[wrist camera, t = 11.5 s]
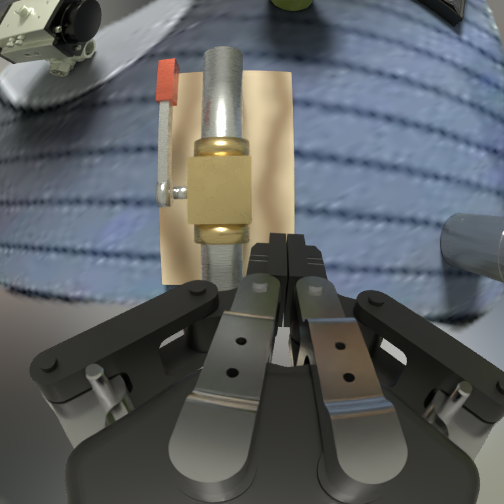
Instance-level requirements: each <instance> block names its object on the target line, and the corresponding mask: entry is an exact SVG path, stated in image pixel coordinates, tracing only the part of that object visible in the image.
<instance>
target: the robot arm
mask: <svg viewBox="0 0 504 504" xmlns="http://www.w3.org/2000/svg"><path fill="white" fill-rule="evenodd" d="M441 250H442V253H443V256H444V258H445V260H446V261H447V262H448V263H449V264H450V265H452V266H455V267H458V268H461V269H464V270H467V271H470V272H473V273H476V274H479V275H482V276H485V277H488V278H491V279H494V280H497V281H500V282H502V283H504V217H499V216H487V215H475V214H461V213H458V214H455V215H453V216H451V217H450V218H449V219H448V220H447V222H446V223H445V225H444V228H443V231H442V234H441ZM283 313H284V327H290V335H289V352H290V360H291V367H284V366H280V365H276V364H272V363H271V361H272V355H273V349H274V343H275V337H276V335H277V331H278V327H282V322H283ZM182 329H183V330H184V335H183V336H181V337H179V338H177V339H175V340H174V341H172V342H170V343H168V344H167V345H165V346H163V347H161V348H159V347H160V345H161V343H162V342H163V341H164V340H165V339H167V338H168V337H170V336H172V335H174V334H175V333H177V332H179V331H180V330H182ZM383 338H384V339H386V340H387V341H388V342H390V343H391V344H393V345H394V346H395V347H397V348H398V349H400V350H401V351H402V352H403V353H404V354H405V356H406V357H407V364H406V366H405V365H404V364H402V363H401V362H400V361H398V360H397V359H396V358H394V357H393V356H392V355H390V354H389V353H388V352H386V351H385V350H383V349H382V348H381V347H380V345H381V342H382V340H383ZM201 367H202V369H200V368H201ZM198 369H199V370H198ZM30 376H31V377H32V379H33V381H34V382H35V384H36V385H37V387H38V388H39V389H40V391H41V393H42V395H43V397H44V398H45V400H46V401H47V403H48V404H49V405H50V407H51V408H52V409H53V411H54V412H55V413H56V415H57V417H58V419H59V421H60V423H61V424H62V426H63V429H64V431H65V433H66V434H67V436H68V438H69V440H70V442H71V444H72V445H73V447H74V450H73V451H72V452H71V454H70V456H69V458H68V460H67V463H66V466H65V471H64V481H65V487H66V493H67V502H68V504H476V502H477V498H478V494H479V489H480V478H479V473H478V470H477V467H476V465H475V463H474V459H475V458H476V456H477V454H478V453H479V451H480V449H481V448H482V445H483V444H484V442H485V440H486V438H487V437H488V435H489V433H490V431H491V429H492V428H493V427H494V426H495V425H496V424H497V423H498V422H499V421H500V419H501V418H502V417H503V416H504V372H503V371H502V370H500V369H499V368H497V367H496V366H495V365H493V364H492V363H490V362H489V361H487V360H486V359H484V358H483V357H481V356H480V355H478V354H477V353H476V352H474V351H473V350H471V349H470V348H468V347H467V346H465V345H463V344H462V343H461V342H459V341H458V340H456V339H455V338H453V337H452V336H450V335H449V334H447V333H446V332H444V331H443V330H441V329H439V328H438V327H436V326H435V325H433V324H432V323H430V322H429V321H427V320H426V319H424V318H422V317H421V316H419V315H418V314H416V313H415V312H413V311H412V310H410V309H408V308H407V307H405V306H404V305H402V304H401V303H399V302H397V301H396V300H394V299H393V298H391V297H389V296H388V295H386V294H384V293H382V292H379V291H374V290H367V291H363V292H361V293H359V295H358V296H357V299H352V298H348V297H344V296H341V295H339V294H337V292H336V289H335V287H334V285H333V284H332V283H331V282H330V281H328V280H327V276H326V271H325V267H324V263H323V259H322V254H321V251H320V250H319V249H317V248H316V247H315V246H307V245H305V239H304V234H288V233H287V241H286V233H271V232H270V236H269V243H256V244H255V245H254V246H253V247H251V252H250V257H249V262H248V268H247V273H246V276H245V277H244V278H242V280H241V281H240V284H239V287H237V288H235V289H231V290H226V291H218V288H217V286H216V285H215V284H213V283H212V282H209V281H206V280H193V281H189V282H186V283H184V284H182V285H180V286H178V287H176V288H174V289H172V290H170V291H167V292H165V293H163V294H161V295H159V296H157V297H155V298H153V299H151V300H149V301H147V302H145V303H143V304H140V305H138V306H136V307H134V308H132V309H130V310H128V311H126V312H124V313H122V314H120V315H118V316H116V317H114V318H111V319H110V320H107V321H105V322H103V323H101V324H99V325H97V326H95V327H93V328H91V329H89V330H87V331H84V332H82V333H80V334H78V335H76V336H74V337H72V338H70V339H68V340H66V341H64V342H62V343H60V344H57V345H55V346H53V347H51V348H49V349H47V350H45V351H43V352H41V353H40V354H38V355H37V356H36V357H35V358H34V359H33V361H32V363H31V365H30ZM135 408H136V409H135Z"/></svg>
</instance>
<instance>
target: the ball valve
mask: <svg viewBox="0 0 504 504" xmlns="http://www.w3.org/2000/svg"><path fill="white" fill-rule="evenodd" d="M100 22H101V8H100V5H99V3H98V2H97V1H96V0H21V1H18V2H15V3H12V4H10V5H9V6H8V8H7V9H6V11H5V13H4V15H3V16H2V18H1V20H0V57H2V58H4V59H5V60H7V61H9V62H11V63H13V64H15V63H22V62H28V61H36V60H44V59H45V60H46V61H50V65H51V67H50V73H51V74H53V75H56V76H61V77H64V76H68V74H69V72H70V70H72V69H73V68H74V66H75V63H76V62H79V61H84V60H85V59H86V58H90V57H92V55H93V53H94V51H95V41H94V38H93V37H94V36H95V35H96V33H97V31H98V29H99V26H100ZM92 38H93V39H92Z"/></svg>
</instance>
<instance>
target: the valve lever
mask: <svg viewBox="0 0 504 504" xmlns="http://www.w3.org/2000/svg"><path fill="white" fill-rule="evenodd" d="M178 82H179V65H178V63H177V62H176V60H175V59H166V60H159V65H158V77H157V89H156V101H157V103H158V104H159V105H160V112H159V138H158V182H157V185H156V201H157V205H158V207H159V208H162V207H172V205H173V199H174V198H173V182H172V124H173V106H177V100H178Z"/></svg>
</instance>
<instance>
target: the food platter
mask: <svg viewBox="0 0 504 504" xmlns="http://www.w3.org/2000/svg"><path fill="white" fill-rule="evenodd" d="M418 1H420V2H421V3H423V4H424V5H426V6H427V7H429V8H430V9H431V10H433V11H434V12H436V13H437V14H438V15H440V16H441V17H442V18H444V19H445V20H446V21H447V22H449V23H450V24H451V25H452V26H455V25H456V24H458V23H459V22H460V21H462V19H463V13H464V5H465V0H418Z"/></svg>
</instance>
